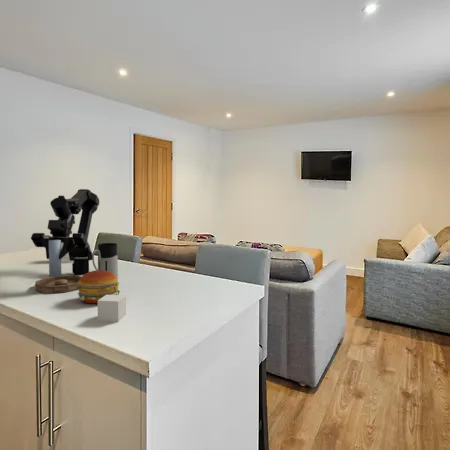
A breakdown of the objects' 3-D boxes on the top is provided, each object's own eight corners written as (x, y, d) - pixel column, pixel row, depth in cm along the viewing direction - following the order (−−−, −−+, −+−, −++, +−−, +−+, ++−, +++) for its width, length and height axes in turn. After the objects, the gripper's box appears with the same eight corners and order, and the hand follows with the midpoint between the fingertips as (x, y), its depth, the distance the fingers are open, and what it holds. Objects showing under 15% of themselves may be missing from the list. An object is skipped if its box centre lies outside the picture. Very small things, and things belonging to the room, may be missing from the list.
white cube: (97, 321, 98) (97, 300, 97) (106, 314, 104) (106, 294, 103) (118, 322, 97) (118, 301, 97) (126, 315, 103) (125, 295, 103)
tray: (84, 280, 144) (84, 274, 144) (86, 290, 128) (86, 283, 128) (37, 283, 137) (37, 277, 137) (33, 295, 121) (33, 288, 121)
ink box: (58, 260, 185) (57, 239, 185) (75, 259, 189) (74, 238, 188) (57, 263, 178) (57, 240, 177) (75, 262, 181) (75, 240, 180)
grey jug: (122, 278, 149) (122, 243, 147) (102, 286, 135) (102, 248, 134) (105, 276, 151) (104, 242, 150) (83, 284, 137) (83, 246, 136)
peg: (60, 273, 130) (59, 239, 129) (62, 276, 127) (61, 240, 126) (48, 275, 128) (47, 240, 127) (50, 277, 125) (49, 241, 124)
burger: (71, 299, 118) (70, 270, 117) (108, 292, 127) (108, 265, 126) (87, 308, 108) (87, 277, 107) (127, 300, 118) (126, 271, 117)
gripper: (32, 211, 129) (18, 245, 119) (83, 212, 130) (74, 245, 120) (42, 230, 137) (29, 263, 127) (90, 230, 139) (82, 263, 129)
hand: (53, 258), depth 125 cm, fingers closed on peg, 4 cm apart
